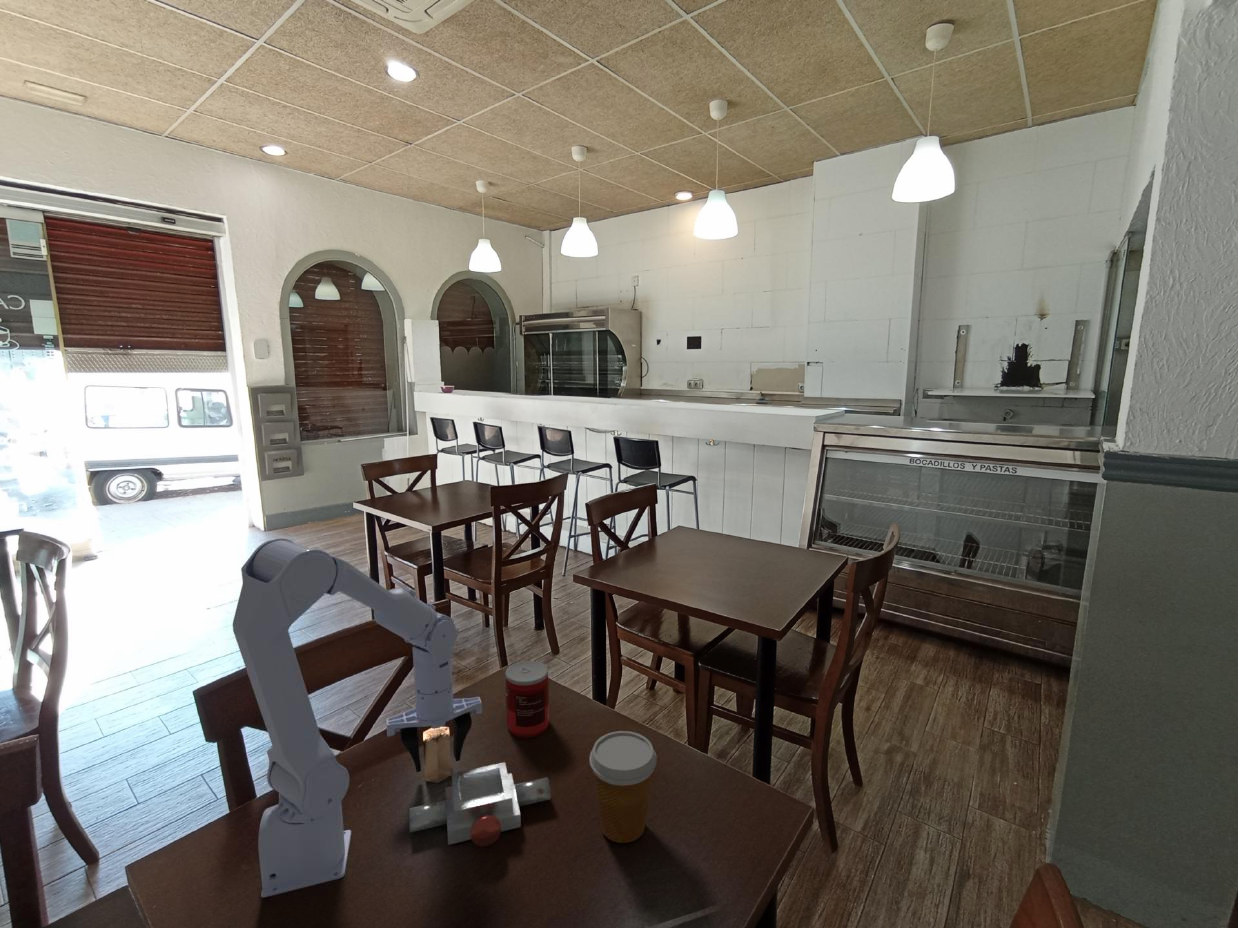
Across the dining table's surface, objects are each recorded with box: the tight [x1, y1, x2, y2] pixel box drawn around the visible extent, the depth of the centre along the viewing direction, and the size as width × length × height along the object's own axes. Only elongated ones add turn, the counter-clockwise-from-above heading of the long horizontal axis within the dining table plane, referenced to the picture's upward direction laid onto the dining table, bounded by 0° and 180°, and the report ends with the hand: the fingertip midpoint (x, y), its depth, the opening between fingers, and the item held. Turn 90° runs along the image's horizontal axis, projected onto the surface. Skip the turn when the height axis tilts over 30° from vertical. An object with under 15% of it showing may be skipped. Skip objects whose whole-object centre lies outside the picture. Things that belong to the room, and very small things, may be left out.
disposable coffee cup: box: [588, 730, 658, 844], centre depth 80 cm, size 10×10×12 cm
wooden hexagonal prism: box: [422, 726, 452, 783], centre depth 91 cm, size 4×5×7 cm
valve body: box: [408, 762, 552, 847], centre depth 82 cm, size 20×11×4 cm, turn 109°
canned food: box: [505, 660, 550, 739], centre depth 104 cm, size 8×8×11 cm
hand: (437, 762), depth 92 cm, fingers open, 5 cm apart
